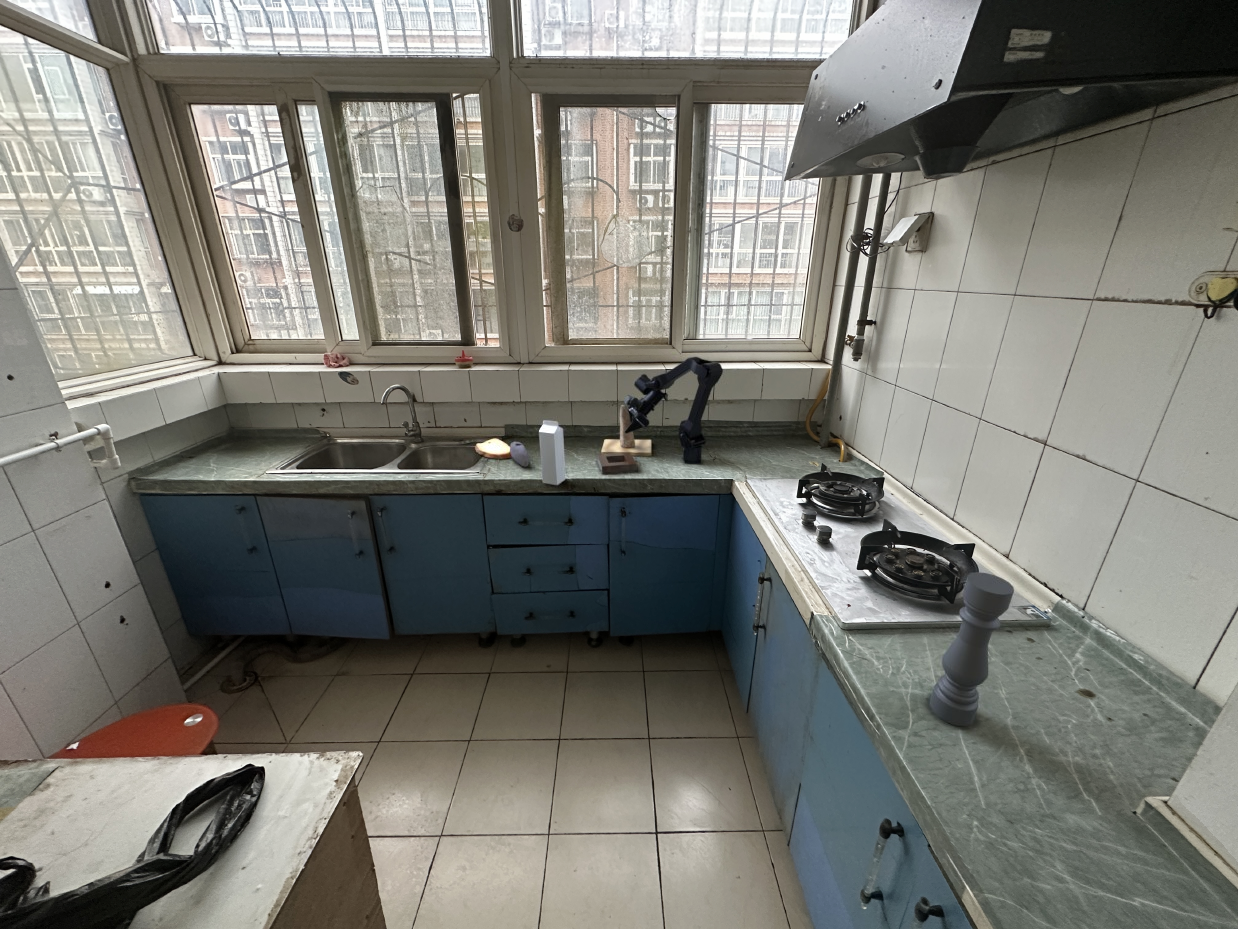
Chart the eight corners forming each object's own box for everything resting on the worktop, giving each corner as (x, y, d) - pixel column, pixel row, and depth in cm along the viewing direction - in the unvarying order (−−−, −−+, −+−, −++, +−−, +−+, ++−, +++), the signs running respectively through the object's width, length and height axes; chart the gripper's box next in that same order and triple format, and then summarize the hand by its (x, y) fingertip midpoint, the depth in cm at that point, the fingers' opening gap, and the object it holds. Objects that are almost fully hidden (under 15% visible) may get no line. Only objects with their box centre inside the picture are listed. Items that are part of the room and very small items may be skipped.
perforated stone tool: (533, 468, 187) (532, 451, 184) (520, 470, 185) (518, 453, 182) (522, 456, 199) (521, 439, 197) (509, 458, 197) (508, 441, 195)
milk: (551, 477, 179) (547, 417, 171) (566, 479, 177) (562, 419, 169) (542, 483, 174) (537, 422, 166) (557, 485, 171) (553, 424, 164)
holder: (630, 459, 195) (630, 452, 194) (636, 471, 183) (637, 463, 182) (597, 461, 193) (597, 454, 192) (602, 474, 181) (601, 466, 180)
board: (651, 443, 213) (651, 439, 213) (651, 455, 198) (651, 452, 198) (604, 442, 214) (604, 439, 214) (601, 455, 199) (601, 451, 199)
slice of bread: (512, 459, 196) (511, 450, 195) (467, 459, 197) (466, 450, 195) (521, 444, 213) (521, 436, 212) (480, 444, 214) (479, 436, 212)
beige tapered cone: (621, 445, 208) (620, 450, 203) (613, 404, 201) (612, 408, 196) (635, 443, 207) (635, 448, 202) (629, 402, 201) (628, 406, 195)
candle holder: (956, 695, 85) (995, 570, 76) (982, 726, 80) (1027, 595, 71) (921, 696, 85) (955, 571, 76) (944, 727, 79) (984, 596, 70)
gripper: (631, 383, 205) (605, 410, 208) (641, 393, 188) (613, 423, 190) (650, 401, 209) (624, 427, 212) (661, 412, 192) (633, 441, 194)
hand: (623, 429), depth 202 cm, fingers open, 8 cm apart
